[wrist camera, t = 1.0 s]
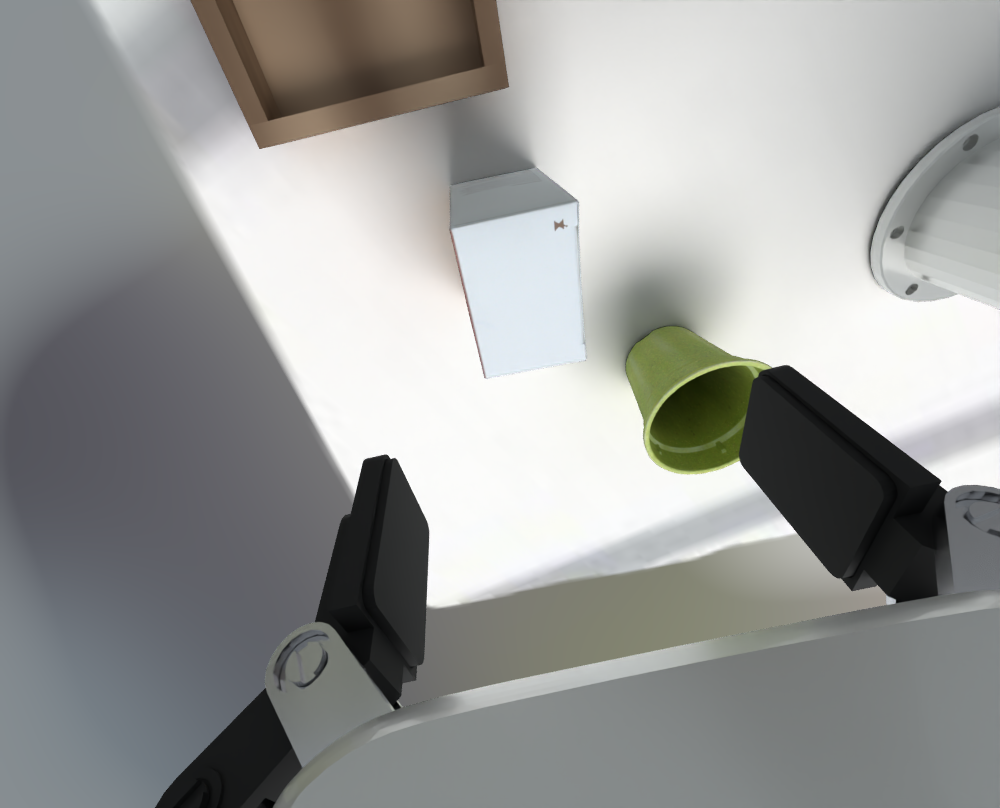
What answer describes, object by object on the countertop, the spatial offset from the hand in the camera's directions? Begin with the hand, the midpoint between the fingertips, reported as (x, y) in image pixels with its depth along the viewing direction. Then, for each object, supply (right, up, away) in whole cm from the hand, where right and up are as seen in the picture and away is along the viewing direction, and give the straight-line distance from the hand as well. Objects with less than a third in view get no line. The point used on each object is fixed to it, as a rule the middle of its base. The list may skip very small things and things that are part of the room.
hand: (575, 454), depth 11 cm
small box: (-2, +12, +17) cm, 21 cm away
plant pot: (+11, +5, +24) cm, 27 cm away
